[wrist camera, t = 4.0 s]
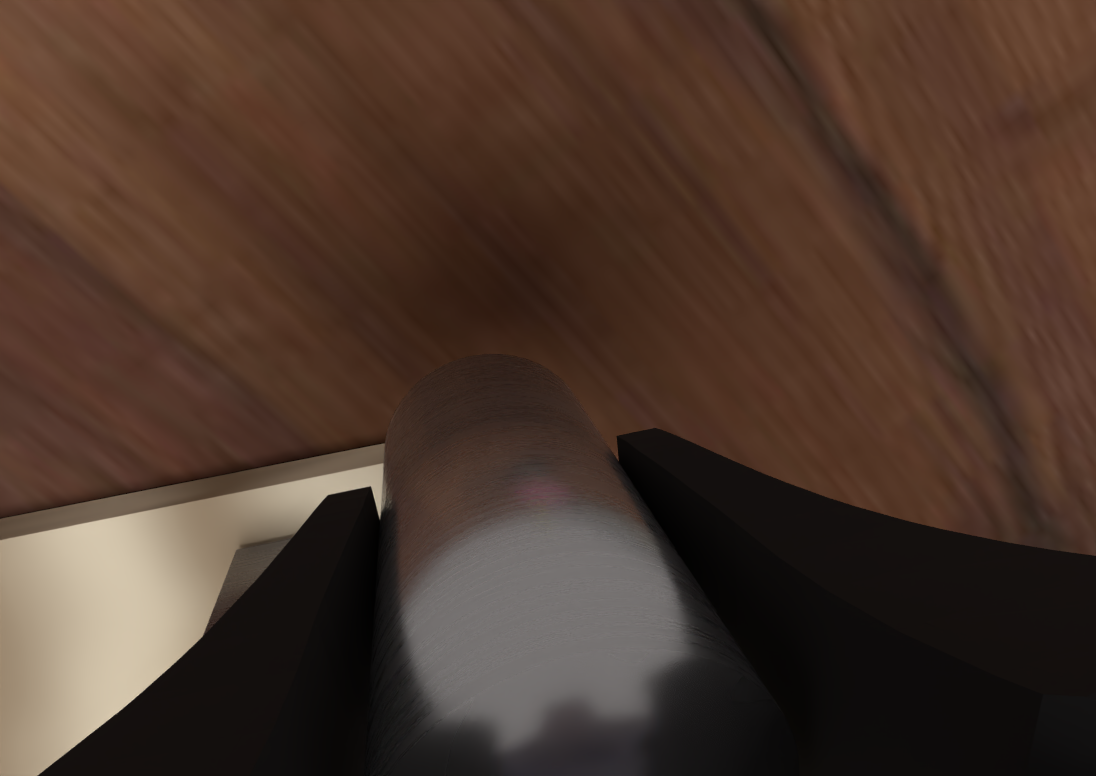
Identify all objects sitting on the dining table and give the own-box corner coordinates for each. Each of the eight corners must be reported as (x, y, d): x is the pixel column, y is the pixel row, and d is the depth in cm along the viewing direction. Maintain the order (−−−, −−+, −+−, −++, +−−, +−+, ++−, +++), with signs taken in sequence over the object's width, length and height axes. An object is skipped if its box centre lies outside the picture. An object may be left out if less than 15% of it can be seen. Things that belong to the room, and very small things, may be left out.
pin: (576, 336, 11) (802, 600, 5) (598, 515, 13) (796, 906, 6) (362, 376, 11) (301, 727, 4) (408, 559, 12) (413, 1030, 6)
